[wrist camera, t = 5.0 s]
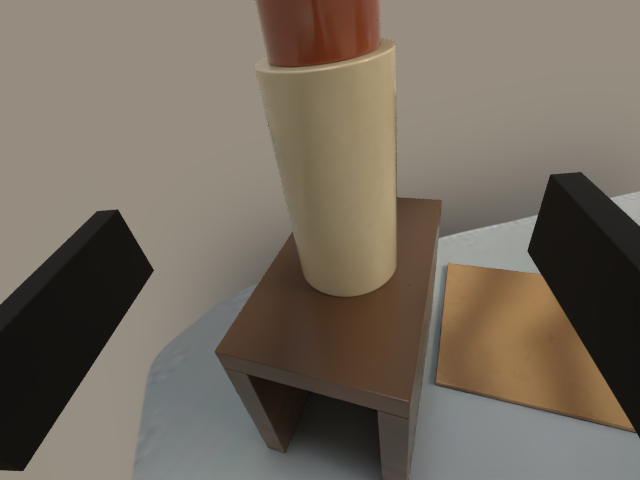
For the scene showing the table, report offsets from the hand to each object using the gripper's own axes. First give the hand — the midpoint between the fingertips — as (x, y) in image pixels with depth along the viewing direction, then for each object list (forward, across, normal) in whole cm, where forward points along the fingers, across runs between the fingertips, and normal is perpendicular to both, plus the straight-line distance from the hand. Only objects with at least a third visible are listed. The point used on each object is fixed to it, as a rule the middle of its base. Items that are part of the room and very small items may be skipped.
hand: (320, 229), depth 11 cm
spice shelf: (+8, 0, -20) cm, 22 cm away
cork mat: (+10, +17, -20) cm, 29 cm away
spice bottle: (+8, 0, -8) cm, 11 cm away
